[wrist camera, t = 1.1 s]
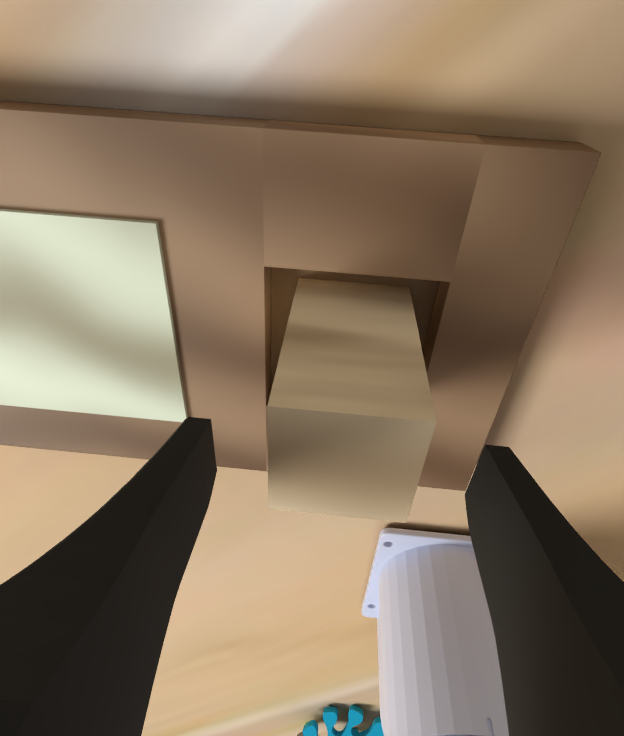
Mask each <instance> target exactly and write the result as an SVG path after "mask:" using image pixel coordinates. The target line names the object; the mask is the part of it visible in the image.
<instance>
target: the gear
mask: <svg viewBox="0 0 624 736" xmlns="http://www.w3.org/2000/svg"><path fill="white" fill-rule="evenodd" d="M337 717H338V710H337V708H336V707H326V708H325V709H324V712H323V720H324V722H325V724H326V726H327V730H328V736H384V733H383V730H382V725H381V717H377V718H375V719H374V721H373V723H372V725H371V726H370V727H369V728H368V729H367V730H365V731H362V732H359V731H358V729H356V728H352V727H353V726H355V725H358V724H360V723H361V722H362V720H363V710H362V709H361V708H360V707H358V706H356V705H351V706H350V708H349V713H348V719H349V720H348V723H347V725H346V726H345V728H344V729H343V730H342V731H336V730H335V729H334V727H333V726H334V725H335V723H336V721H337ZM297 736H318V724H317V722H316V721H315V720H311V721H309V722H307V723H306V724H305V726H304V728H303V732H301V733H299V734H298V735H297Z"/></svg>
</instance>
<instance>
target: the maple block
mask: <svg viewBox="0 0 624 736" xmlns="http://www.w3.org/2000/svg"><path fill="white" fill-rule="evenodd" d="M267 410H268V509H273V510H283V511H293V512H303V513H313V514H323V515H332V516H342V517H352V518H362V519H372V520H382V521H391V522H401V523H406V522H407V519H408V516H409V512H410V509H411V506H412V502H413V499H414V496H415V492H416V489H417V486H418V482H419V479H420V476H421V472H422V469H423V466H424V462H425V459H426V456H427V452H428V449H429V445H430V442H431V439H432V435H433V432H434V429H435V425H436V417H435V412H434V407H433V402H432V397H431V392H430V387H429V382H428V377H427V372H426V367H425V362H424V357H423V352H422V347H421V342H420V337H419V332H418V327H417V323H416V318H415V313H414V308H413V303H412V298H411V293H410V288H409V287H401V286H389V285H377V284H365V283H353V282H341V281H330V280H318V279H306V278H298V282H297V286H296V290H295V294H294V298H293V302H292V307H291V311H290V315H289V319H288V323H287V327H286V331H285V336H284V340H283V344H282V348H281V352H280V356H279V360H278V365H277V369H276V373H275V377H274V381H273V385H272V389H271V393H270V398H269V402H268V406H267Z"/></svg>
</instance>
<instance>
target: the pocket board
mask: <svg viewBox="0 0 624 736" xmlns="http://www.w3.org/2000/svg"><path fill="white" fill-rule="evenodd" d="M600 154H601V153H600V152H598V151H596V150H594V149H592V148H590V147H588V146H586V145H584V144H582V143H579V142H565V141H551V140H537V139H524V138H510V137H496V136H482V135H468V134H454V133H441V132H427V131H413V130H399V129H385V128H372V127H358V126H344V125H330V124H316V123H302V122H289V121H275V120H261V119H247V118H233V117H220V116H206V115H192V114H178V113H164V112H150V111H137V110H123V109H109V108H95V107H81V106H68V105H54V104H40V103H26V102H12V101H0V445H8V446H18V447H28V448H38V449H48V450H58V451H68V452H78V453H88V454H98V455H108V456H119V457H129V458H139V459H149V460H150V459H151V458H152V457H153V456H154V454H155V453H156V452H157V451H158V450H159V449H160V448H161V447H162V446H163V444H164V443H165V442H166V441H167V440H168V439H169V438H170V436H171V435H172V434H173V433H174V432H175V431H176V429H177V428H178V427H179V426H180V425H181V424H182V422H183V421H184V420H185V419H186V418H188V417H195V418H206V419H211V422H212V431H213V440H214V449H215V458H216V466H219V467H230V468H240V469H250V470H260V471H268V410H267V406H268V402H269V398H270V393H271V389H272V385H273V384H271V267H277V268H289V269H301V270H313V271H325V272H337V273H349V274H361V275H373V276H385V277H397V278H409V279H421V280H433V281H440V282H439V287H438V291H437V295H436V299H435V303H434V307H433V311H432V315H431V320H430V324H429V328H428V332H427V336H426V340H425V344H424V348H423V357H424V362H425V367H426V372H427V377H428V382H429V387H430V392H431V397H432V402H433V407H434V412H435V417H436V425H435V429H434V432H433V435H432V439H431V442H430V445H429V449H428V452H427V456H426V459H425V462H424V466H423V469H422V472H421V476H420V479H419V482H418V486H421V487H431V488H442V489H452V490H462V491H465V490H466V488H467V485H468V483H469V480H470V478H471V475H472V473H473V470H474V468H475V465H476V463H477V460H478V458H479V455H480V453H481V451H482V448H483V446H484V443H485V441H486V438H487V436H488V433H489V431H490V428H491V426H492V423H493V421H494V418H495V416H496V413H497V411H498V408H499V406H500V403H501V401H502V398H503V396H504V393H505V391H506V388H507V386H508V383H509V381H510V378H511V376H512V373H513V371H514V368H515V366H516V363H517V361H518V358H519V356H520V353H521V351H522V348H523V346H524V343H525V341H526V338H527V336H528V333H529V331H530V328H531V326H532V323H533V321H534V319H535V316H536V314H537V311H538V309H539V306H540V304H541V301H542V299H543V296H544V294H545V291H546V289H547V286H548V284H549V281H550V279H551V276H552V274H553V271H554V269H555V266H556V264H557V261H558V259H559V256H560V254H561V251H562V249H563V246H564V244H565V241H566V239H567V236H568V234H569V231H570V229H571V226H572V224H573V221H574V219H575V216H576V214H577V211H578V209H579V206H580V204H581V201H582V199H583V196H584V194H585V192H586V189H587V187H588V184H589V182H590V179H591V177H592V174H593V172H594V169H595V167H596V164H597V162H598V159H599V157H600Z"/></svg>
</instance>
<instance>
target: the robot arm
mask: <svg viewBox="0 0 624 736" xmlns="http://www.w3.org/2000/svg"><path fill="white" fill-rule="evenodd" d="M216 472H217V466H216V458H215V449H214V440H213V431H212V422H211V419H206V418H195V417H188V418H186V419H185V420H184V421H183V422H182V424H181V425H180V426H179V427H178V428H177V429H176V431H175V432H174V433H173V434H172V435H171V436H170V438H169V439H168V440H167V441H166V442H165V443H164V444H163V446H162V447H161V448H160V449H159V450H158V451H157V452H156V453H155V454H154V456H153V457H152V458H151V459H150V460H149V461H148V462H147V463H146V464H145V465H144V466H143V467H142V468H141V469H140V470H139V471H138V472H137V473H136V474H135V476H134V477H133V478H132V479H131V480H130V481H129V482H128V483H127V484H125V485H124V486H123V487H122V488H121V489H120V490H119V491H118V492H117V493H116V494H115V495H114V496H113V497H112V498H111V499H110V500H109V501H108V502H107V503H106V504H105V505H103V506H102V507H101V508H100V509H99V510H98V511H97V512H96V513H95V514H93V515H92V516H91V517H90V518H89V519H88V520H86V521H85V522H84V523H83V524H82V525H81V526H79V527H78V528H77V529H76V530H74V531H73V532H72V533H71V534H70V535H68V536H67V537H66V538H65V539H63V540H62V541H61V542H59V543H58V544H57V545H56V546H54V547H53V548H52V549H50V550H49V551H48V552H46V553H45V554H44V555H43V556H41V557H40V558H39V559H37V560H36V561H34V562H33V563H32V564H30V565H29V566H28V567H26V568H25V569H23V570H22V571H20V572H19V573H17V574H16V575H15V576H13V577H12V578H10V579H9V580H7V581H6V582H4V583H3V584H1V585H0V736H141V734H142V729H143V725H144V721H145V716H146V712H147V708H148V704H149V699H150V695H151V691H152V686H153V682H154V678H155V674H156V670H157V666H158V662H159V658H160V654H161V650H162V646H163V642H164V638H165V634H166V631H167V627H168V623H169V619H170V616H171V612H172V608H173V604H174V601H175V598H176V595H177V592H178V589H179V585H180V583H181V580H182V577H183V574H184V572H185V569H186V566H187V564H188V561H189V558H190V555H191V553H192V550H193V547H194V545H195V542H196V539H197V536H198V534H199V531H200V528H201V525H202V523H203V520H204V517H205V514H206V511H207V509H208V506H209V502H210V498H211V494H212V490H213V485H214V481H215V477H216ZM465 500H466V509H467V518H468V525H469V532H470V536H466V535H457V534H447V533H437V532H427V531H418V530H408V529H398V528H384V529H383V530H381V532H380V535H379V539H378V543H377V547H376V551H375V555H374V559H373V563H372V567H371V571H370V575H369V580H368V584H367V588H366V592H365V596H364V600H363V604H362V614H363V615H364V616H366V617H372V618H377V631H378V662H379V694H380V717H381V725H382V730H383V733H384V736H624V582H623V581H622V580H621V579H620V578H619V577H618V576H617V575H616V574H615V573H614V572H613V571H612V570H611V569H610V568H609V567H608V566H607V565H606V564H605V563H604V562H603V561H602V560H601V559H600V557H599V556H598V555H597V554H596V553H595V552H594V551H593V550H592V549H591V548H590V546H589V545H588V544H587V543H586V542H585V541H584V540H583V539H582V538H581V536H580V535H579V534H578V533H577V532H576V531H575V530H574V528H573V527H572V526H571V525H570V524H569V522H568V521H567V520H566V519H565V518H564V516H563V515H562V514H561V513H560V512H559V510H558V509H557V508H556V507H555V505H554V504H553V503H552V502H551V501H550V499H549V498H548V497H547V496H546V494H545V493H544V492H543V490H542V489H541V488H540V487H539V485H538V484H537V483H536V481H535V480H534V479H533V478H532V476H531V475H530V474H529V472H528V471H527V470H526V468H525V467H524V466H523V465H522V463H521V462H520V461H519V459H518V458H517V457H516V456H515V454H514V453H513V452H512V450H511V449H510V448H509V447H503V446H492V445H485V446H484V449H483V451H482V454H481V456H480V459H479V461H478V464H477V466H476V468H475V471H474V473H473V476H472V478H471V481H470V483H469V486H468V488H467V491H466V493H465Z"/></svg>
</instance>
